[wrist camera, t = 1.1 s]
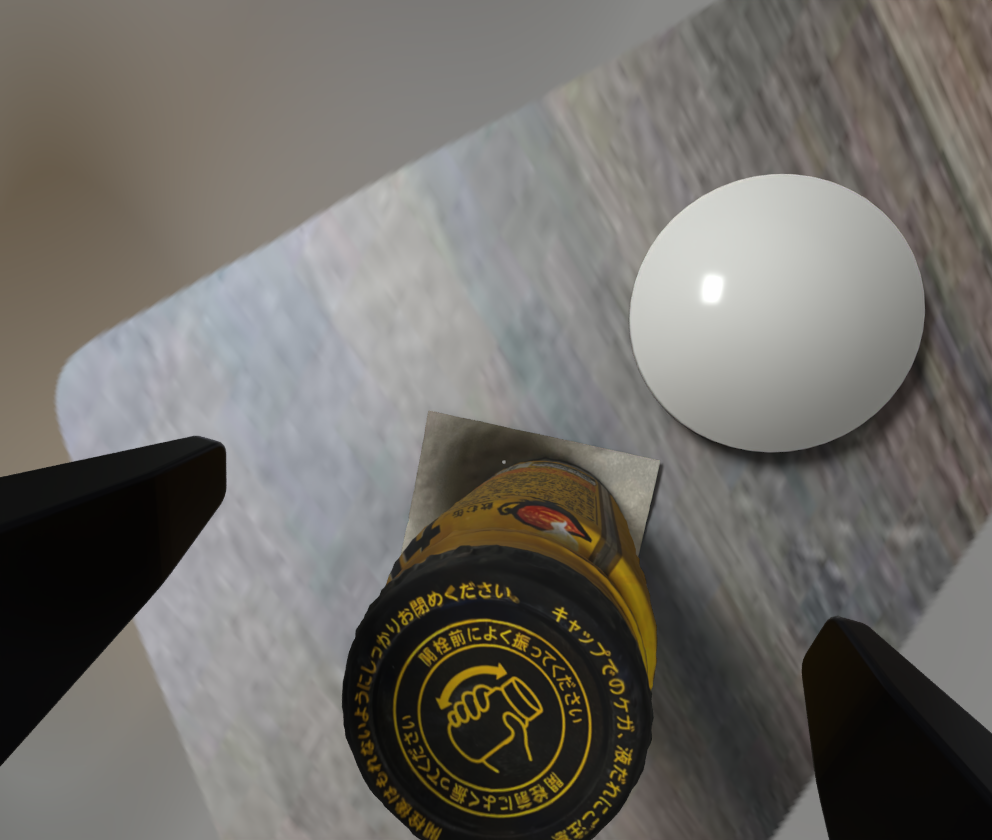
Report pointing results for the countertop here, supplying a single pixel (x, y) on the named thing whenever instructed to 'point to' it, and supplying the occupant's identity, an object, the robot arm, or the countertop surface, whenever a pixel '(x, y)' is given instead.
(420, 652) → the condiment
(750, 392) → the coaster
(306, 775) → the countertop surface
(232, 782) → the countertop surface
